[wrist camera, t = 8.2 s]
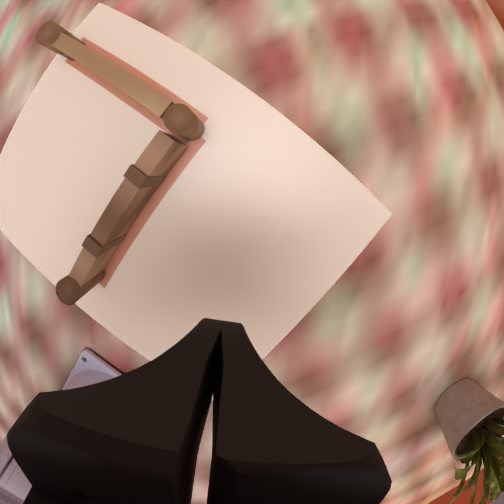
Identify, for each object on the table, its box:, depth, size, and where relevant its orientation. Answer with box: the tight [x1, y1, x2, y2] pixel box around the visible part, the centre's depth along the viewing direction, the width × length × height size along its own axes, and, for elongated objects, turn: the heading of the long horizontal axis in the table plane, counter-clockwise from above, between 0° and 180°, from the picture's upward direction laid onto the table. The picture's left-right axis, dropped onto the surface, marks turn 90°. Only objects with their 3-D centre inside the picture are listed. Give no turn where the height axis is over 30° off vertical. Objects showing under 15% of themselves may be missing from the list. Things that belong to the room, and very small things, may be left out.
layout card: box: [0, 3, 392, 400], centre depth 18 cm, size 19×26×1 cm
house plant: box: [435, 378, 504, 504], centre depth 16 cm, size 14×14×16 cm
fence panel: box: [56, 130, 188, 305], centre depth 16 cm, size 11×2×4 cm, turn 141°
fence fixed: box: [36, 21, 205, 141], centre depth 14 cm, size 2×13×4 cm, turn 51°
